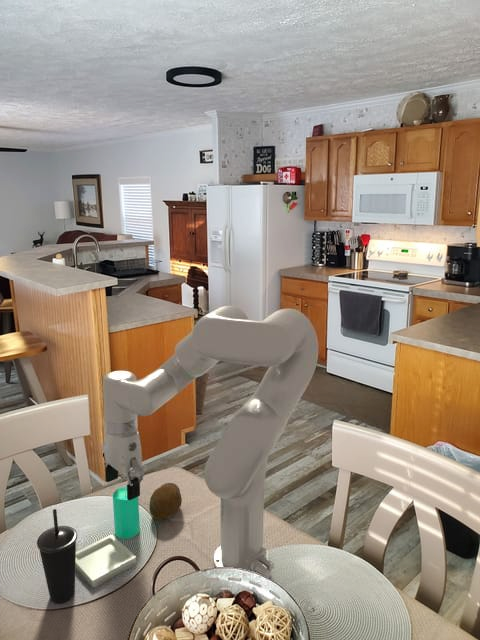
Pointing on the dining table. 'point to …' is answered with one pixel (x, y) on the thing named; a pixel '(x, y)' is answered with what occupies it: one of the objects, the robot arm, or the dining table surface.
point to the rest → (103, 560)
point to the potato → (165, 501)
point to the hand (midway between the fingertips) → (122, 488)
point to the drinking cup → (59, 560)
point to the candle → (125, 514)
